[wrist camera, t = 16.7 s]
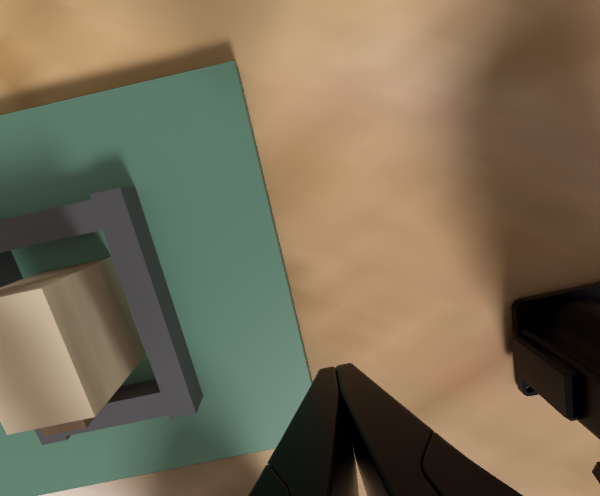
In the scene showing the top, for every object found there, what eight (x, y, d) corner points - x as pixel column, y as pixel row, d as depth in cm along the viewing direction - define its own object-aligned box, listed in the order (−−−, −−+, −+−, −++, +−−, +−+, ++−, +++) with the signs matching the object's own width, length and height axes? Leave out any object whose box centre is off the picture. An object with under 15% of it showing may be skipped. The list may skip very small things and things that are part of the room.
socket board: (237, 67, 17) (228, 48, 14) (322, 426, 21) (326, 458, 19) (-167, 161, 17) (-243, 159, 15) (4, 490, 22) (-32, 529, 20)
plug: (111, 256, 18) (41, 288, 13) (150, 366, 19) (101, 432, 14) (40, 271, 18) (-56, 309, 13) (85, 379, 19) (14, 449, 14)
